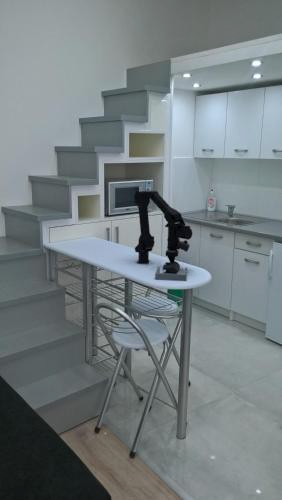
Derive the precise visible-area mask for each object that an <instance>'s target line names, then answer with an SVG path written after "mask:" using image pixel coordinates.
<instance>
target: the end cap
mask: <svg viewBox="0 0 282 500" xmlns="http://www.w3.org/2000/svg"><path fill="white" fill-rule="evenodd" d="M180 270H181V265H180V263H179V262H178V261H174V262H173V263H172V262H170V261H169V262H168V261H167V262H166V261H165V263H164V264H163V265H162V273H168V274H179V272H180Z"/></svg>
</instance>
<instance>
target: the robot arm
mask: <svg viewBox="0 0 282 500" xmlns="http://www.w3.org/2000/svg"><path fill="white" fill-rule="evenodd" d="M133 198H134V204H135V205H136V206H137V208H138V215H139V217H138V219H139V228H140V229H139V230H140V235H139V238H138V244H137V245H136V246H135V247H134V252H135V253H138V256H137V257H138V260H137V262H136V264H147V265H148V264H150V262H151V260H150V259H149V257H150V255H149V254H150V253H149V252H153V248H154V247H155V243H156V242H155V236H153V235H152V234H151V230H150V220H149V210H148V209H149V208H148V207H149V205H150V202H151V201H152V202H153V203H154V205H156V207H157V208H158V209H159V210H160V211H161V212H162V213H163V217H164V219H165V221H166V222H167V224H165V225H164V227H165V228H167V246H166V249H167V250H165V256H166V257H167V258H168V261H169V262H172V263H173V262H174V261H175V260H176V257H179V254H180V252H179V251H180V250H182V251H184V252H186V253H187V252H188V251H189V248H190V246H191V245H190V243H189V242H188V240H190V239H191V238H192V236H193V230H192V228H191V226H190V225H186V223H185V221H184V219H183V215H182V213H181V212H180V211H178V210H177V209H175V208H172V207H171V206H170V204H168V203H167V201H165V199H164V198H163V197H162V196H161V195H160V194H159V191H156V190H150V191H148V190H139V191H138V190H137V191H136V192H135V193H134V195H133ZM180 239H182V240H183V239H184V240H183V241H182V240H180Z"/></svg>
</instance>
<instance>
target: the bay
mask: <svg viewBox="0 0 282 500" xmlns="http://www.w3.org/2000/svg"><path fill="white" fill-rule="evenodd" d="M187 273H188V267H184V273H177V274H168V273H163V272H160V266H157V268H156V270H155V274H154V280H155V281H156V280H158V281H159V280H160V281H179V282H186V281H187V275H188V274H187Z"/></svg>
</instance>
